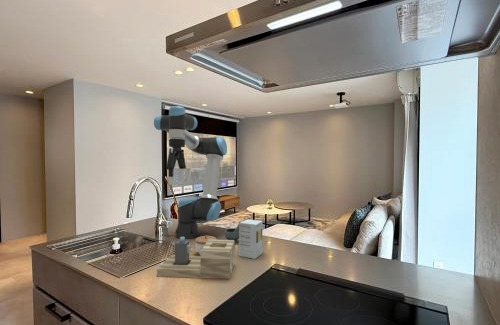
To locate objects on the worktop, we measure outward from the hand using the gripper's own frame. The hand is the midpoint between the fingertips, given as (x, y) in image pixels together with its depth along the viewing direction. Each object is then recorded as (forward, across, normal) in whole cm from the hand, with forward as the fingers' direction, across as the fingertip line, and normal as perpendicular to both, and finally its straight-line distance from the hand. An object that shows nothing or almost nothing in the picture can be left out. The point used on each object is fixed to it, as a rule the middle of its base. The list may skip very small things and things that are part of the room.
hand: (176, 182), depth 124 cm
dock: (+37, -12, -14) cm, 41 cm away
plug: (+37, -12, -7) cm, 39 cm away
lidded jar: (+37, +7, -13) cm, 40 cm away
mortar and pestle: (+37, +27, -25) cm, 52 cm away
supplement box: (+37, +8, -36) cm, 52 cm away
